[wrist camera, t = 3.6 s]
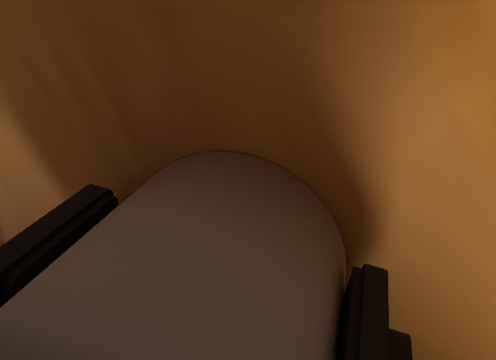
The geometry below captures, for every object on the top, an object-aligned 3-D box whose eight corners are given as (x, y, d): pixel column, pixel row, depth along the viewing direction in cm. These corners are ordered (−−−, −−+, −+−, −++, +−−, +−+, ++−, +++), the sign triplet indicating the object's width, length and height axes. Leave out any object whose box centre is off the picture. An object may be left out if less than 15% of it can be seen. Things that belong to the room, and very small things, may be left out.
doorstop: (347, 358, 13) (321, 635, 7) (149, 333, 14) (11, 545, 9) (345, 151, 10) (306, 337, 5) (110, 150, 12) (-107, 289, 7)
